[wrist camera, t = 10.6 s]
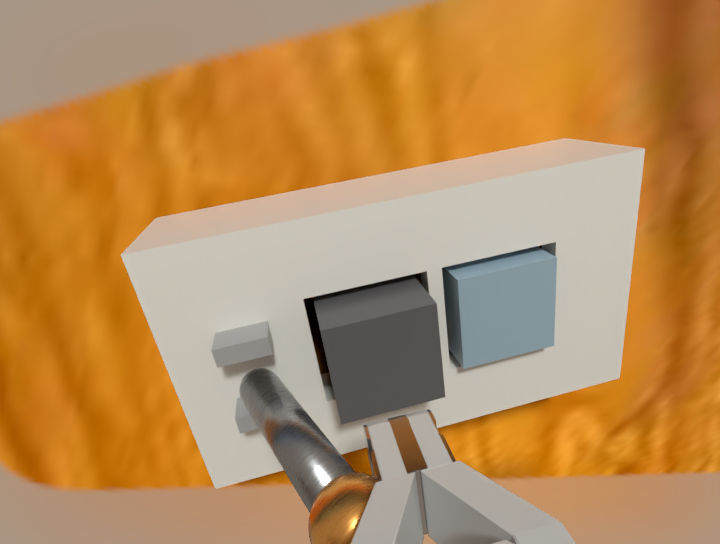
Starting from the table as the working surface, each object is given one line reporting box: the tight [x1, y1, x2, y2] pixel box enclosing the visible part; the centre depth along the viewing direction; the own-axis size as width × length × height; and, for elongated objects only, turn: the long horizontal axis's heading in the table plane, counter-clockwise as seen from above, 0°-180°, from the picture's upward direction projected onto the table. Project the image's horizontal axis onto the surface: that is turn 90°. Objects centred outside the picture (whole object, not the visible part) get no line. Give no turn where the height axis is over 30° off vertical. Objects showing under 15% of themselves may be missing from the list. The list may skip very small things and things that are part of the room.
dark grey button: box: [313, 274, 445, 425], centre depth 14 cm, size 3×3×2 cm
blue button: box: [442, 246, 557, 369], centre depth 15 cm, size 3×3×2 cm
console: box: [121, 138, 645, 489], centre depth 16 cm, size 16×9×5 cm, turn 99°
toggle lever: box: [239, 368, 377, 544], centre depth 10 cm, size 2×2×7 cm
